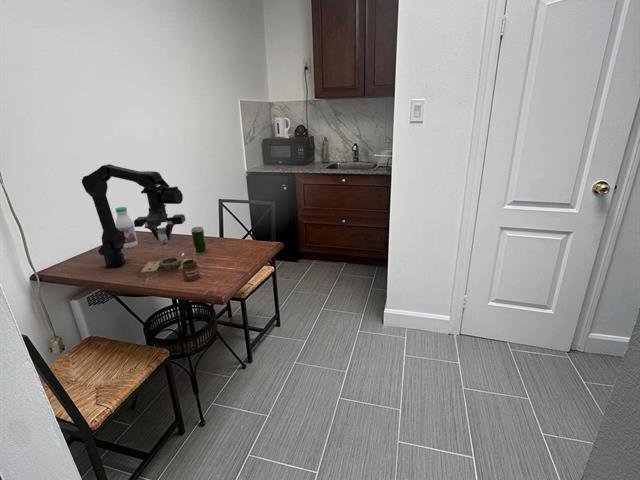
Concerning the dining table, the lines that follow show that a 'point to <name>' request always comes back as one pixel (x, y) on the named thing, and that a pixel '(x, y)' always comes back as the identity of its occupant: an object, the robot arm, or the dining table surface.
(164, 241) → the steel pin
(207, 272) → the dining table surface
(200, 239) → the beer can
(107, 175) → the robot arm
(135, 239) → the milk bottle
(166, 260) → the octagon ring with plates
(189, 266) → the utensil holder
